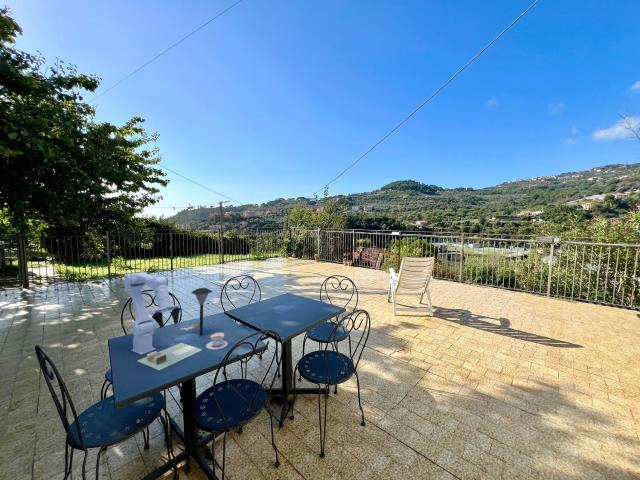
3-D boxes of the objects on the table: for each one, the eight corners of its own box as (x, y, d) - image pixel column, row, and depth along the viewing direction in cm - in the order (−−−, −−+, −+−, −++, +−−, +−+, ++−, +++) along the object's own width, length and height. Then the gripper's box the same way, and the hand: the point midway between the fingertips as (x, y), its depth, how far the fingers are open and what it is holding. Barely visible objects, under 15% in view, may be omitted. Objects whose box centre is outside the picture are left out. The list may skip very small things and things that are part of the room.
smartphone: (203, 323, 189) (188, 330, 174) (203, 325, 189) (187, 332, 174) (194, 322, 191) (178, 329, 176) (194, 323, 191) (178, 330, 176)
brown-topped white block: (146, 360, 136) (146, 354, 135) (155, 356, 140) (155, 351, 139) (157, 364, 132) (157, 358, 132) (166, 360, 136) (166, 355, 136)
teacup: (220, 351, 149) (220, 340, 149) (201, 348, 152) (201, 338, 151) (231, 342, 161) (231, 332, 161) (213, 340, 163) (214, 330, 163)
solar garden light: (206, 339, 163) (207, 291, 162) (186, 338, 164) (187, 291, 162) (214, 331, 176) (215, 287, 174) (196, 331, 176) (197, 286, 175)
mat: (136, 361, 135) (136, 360, 135) (181, 343, 157) (181, 342, 157) (159, 371, 127) (159, 369, 127) (202, 350, 149) (202, 349, 149)
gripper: (153, 299, 127) (159, 327, 124) (181, 294, 140) (187, 319, 137) (145, 303, 130) (151, 331, 127) (173, 298, 143) (178, 323, 140)
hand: (169, 325), depth 133 cm, fingers open, 7 cm apart
